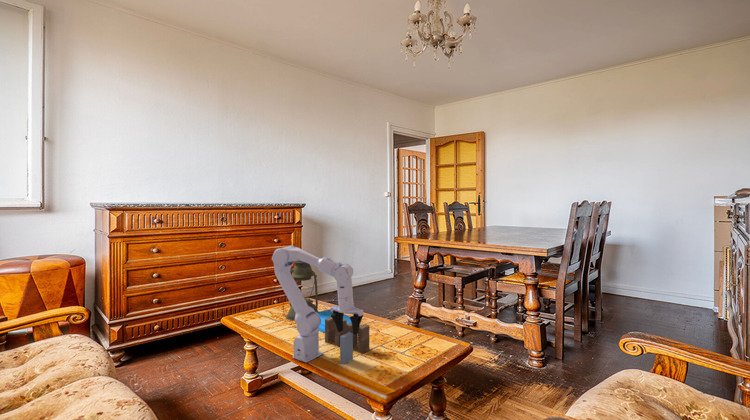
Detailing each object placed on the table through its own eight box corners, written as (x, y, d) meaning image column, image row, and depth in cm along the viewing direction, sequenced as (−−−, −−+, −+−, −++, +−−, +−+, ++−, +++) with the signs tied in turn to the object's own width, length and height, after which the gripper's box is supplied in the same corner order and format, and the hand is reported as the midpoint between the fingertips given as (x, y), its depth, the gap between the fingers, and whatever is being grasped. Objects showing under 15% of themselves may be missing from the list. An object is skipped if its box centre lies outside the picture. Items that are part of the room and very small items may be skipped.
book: (331, 308, 189) (359, 319, 169) (331, 316, 189) (360, 328, 169) (302, 315, 177) (329, 327, 158) (302, 323, 177) (329, 337, 158)
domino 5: (369, 349, 144) (369, 325, 144) (362, 353, 140) (361, 328, 140) (365, 348, 145) (365, 324, 145) (358, 352, 141) (357, 327, 141)
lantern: (328, 314, 190) (327, 258, 189) (305, 323, 175) (305, 263, 175) (300, 308, 201) (299, 256, 200) (276, 317, 186) (275, 260, 185)
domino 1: (336, 339, 154) (336, 317, 154) (328, 343, 150) (328, 320, 150) (332, 338, 156) (332, 316, 155) (324, 342, 151) (324, 319, 151)
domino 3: (357, 346, 147) (357, 322, 147) (350, 350, 143) (350, 325, 143) (354, 344, 149) (353, 321, 148) (346, 349, 144) (346, 324, 144)
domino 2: (346, 342, 151) (346, 319, 151) (339, 346, 147) (338, 322, 147) (343, 341, 152) (343, 318, 152) (335, 345, 148) (335, 321, 148)
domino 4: (352, 359, 135) (352, 333, 135) (344, 364, 131) (344, 337, 131) (348, 358, 136) (348, 332, 136) (340, 362, 132) (340, 336, 132)
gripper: (367, 295, 133) (369, 331, 133) (337, 292, 141) (340, 326, 141) (355, 300, 127) (358, 337, 127) (325, 297, 136) (328, 332, 136)
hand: (348, 332), depth 134 cm, fingers open, 7 cm apart
